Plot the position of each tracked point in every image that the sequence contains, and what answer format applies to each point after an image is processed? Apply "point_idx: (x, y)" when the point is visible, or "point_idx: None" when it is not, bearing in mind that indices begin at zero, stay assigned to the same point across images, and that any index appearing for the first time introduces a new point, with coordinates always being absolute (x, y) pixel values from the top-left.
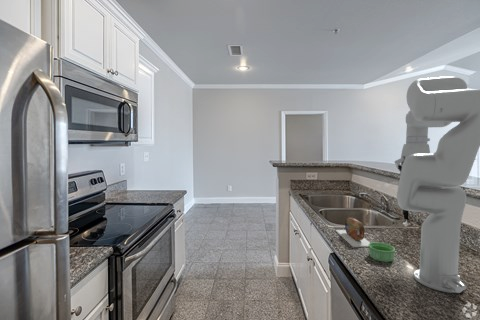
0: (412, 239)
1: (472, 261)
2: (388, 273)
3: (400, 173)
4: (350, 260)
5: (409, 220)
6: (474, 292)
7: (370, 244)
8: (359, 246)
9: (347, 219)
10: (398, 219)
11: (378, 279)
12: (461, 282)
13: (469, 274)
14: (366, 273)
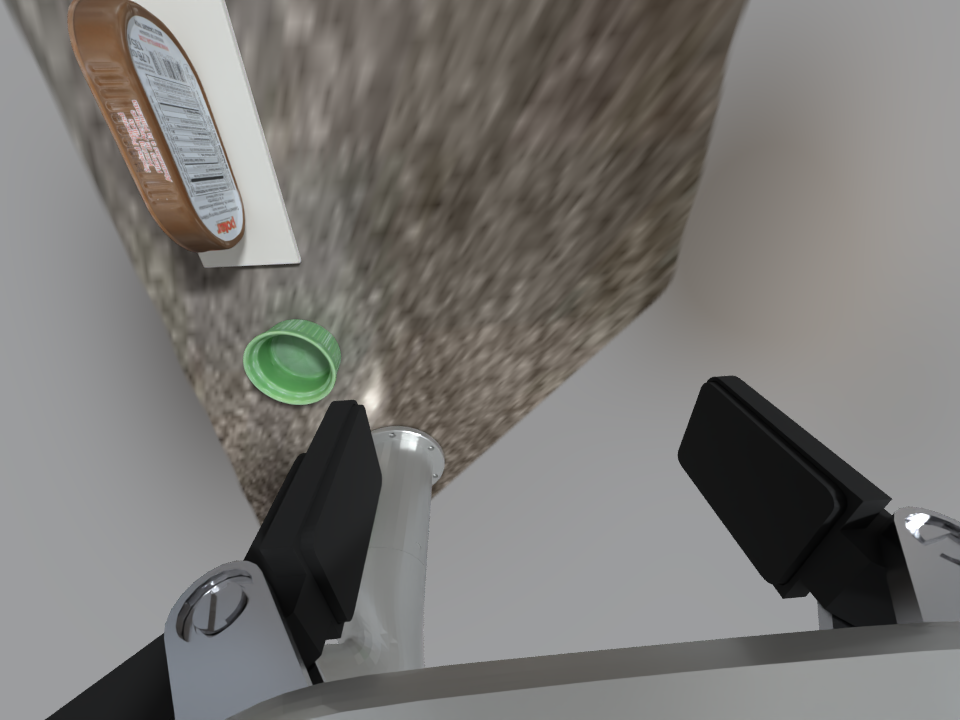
0: (531, 143)
1: (584, 356)
2: (299, 435)
3: (261, 534)
4: (197, 378)
5: None
6: (450, 481)
7: (253, 346)
8: (235, 265)
9: (83, 15)
10: None
11: (266, 459)
12: (440, 473)
13: (503, 423)
14: (241, 439)
